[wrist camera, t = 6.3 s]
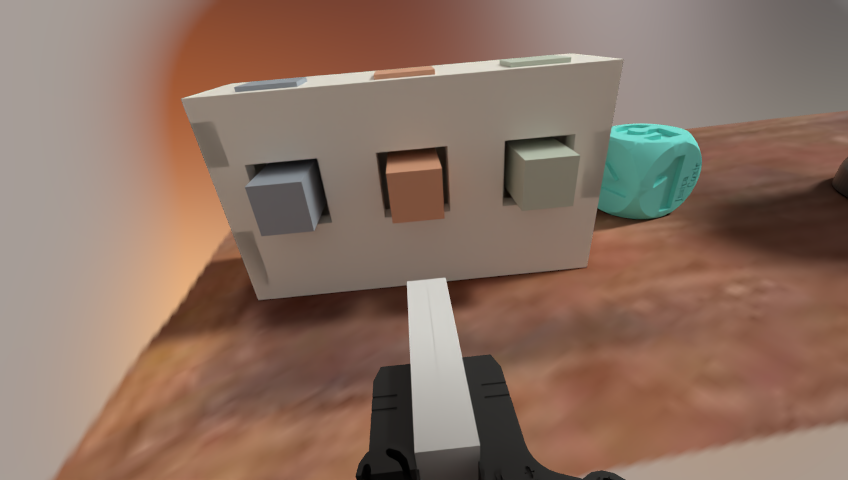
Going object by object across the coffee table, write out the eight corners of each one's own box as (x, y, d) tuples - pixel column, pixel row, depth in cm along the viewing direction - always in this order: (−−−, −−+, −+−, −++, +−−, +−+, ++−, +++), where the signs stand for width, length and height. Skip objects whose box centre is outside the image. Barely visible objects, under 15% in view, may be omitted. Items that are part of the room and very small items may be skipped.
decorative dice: (630, 226, 37) (648, 148, 33) (576, 198, 43) (585, 130, 39) (689, 210, 39) (713, 134, 35) (629, 185, 45) (643, 119, 41)
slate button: (326, 202, 29) (316, 158, 27) (314, 231, 25) (301, 181, 23) (281, 206, 29) (268, 162, 27) (261, 236, 25) (244, 187, 23)
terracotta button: (437, 191, 29) (434, 147, 28) (444, 218, 25) (441, 168, 23) (393, 195, 29) (387, 151, 28) (392, 223, 25) (386, 173, 23)
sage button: (547, 180, 30) (551, 136, 28) (573, 205, 25) (580, 155, 23) (503, 184, 30) (504, 140, 28) (521, 211, 25) (525, 160, 23)
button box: (552, 224, 38) (571, 49, 30) (586, 267, 31) (624, 54, 23) (283, 250, 37) (230, 79, 29) (258, 300, 30) (178, 93, 22)
